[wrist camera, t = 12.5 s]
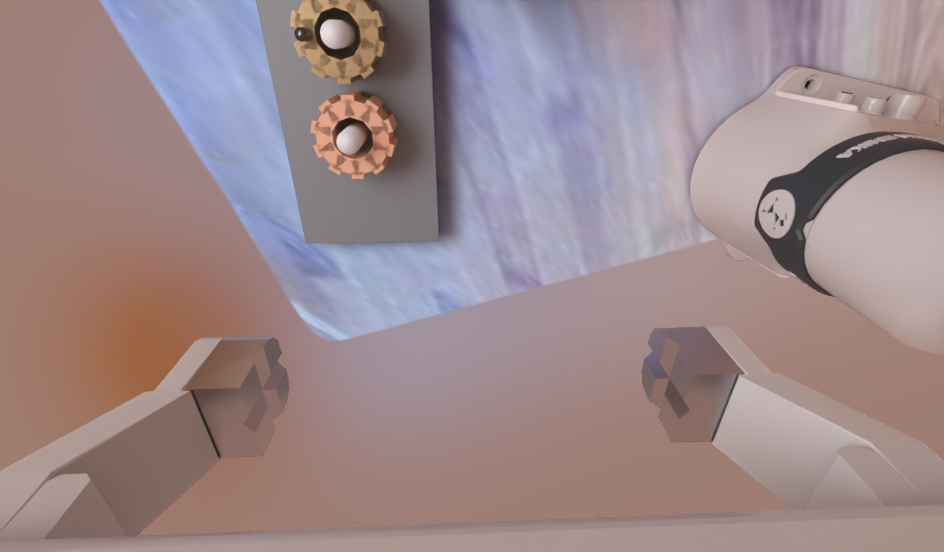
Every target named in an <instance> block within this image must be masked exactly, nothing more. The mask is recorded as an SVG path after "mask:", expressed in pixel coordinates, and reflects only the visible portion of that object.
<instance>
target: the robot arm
mask: <svg viewBox="0 0 944 552" xmlns="http://www.w3.org/2000/svg"><path fill="white" fill-rule="evenodd" d="M808 80H809V85H808V86H807V87H806V88H805V84H806V82H807V81H808ZM939 118H940V111H939V102H938V100H937V99H935V98H933V97H930V96H926V95H922V94H918V93H914V92H910V91H906V90H902V89H897V88H893V87H889V86H885V85H880V84H876V83H872V82H868V81H863V80H859V79H855V78H851V77H846V76H842V75H838V74H834V73H829V72H825V71H821V70H817V69H812V68H808V67H804V66H793V67H791V68H789V69H787V70H786V71H785V72H784V73H783V74H781V75H780V77H779V78H778V79H777V80H776V81H775V82H774V83H773V84H772V85H771V86H770V87H769V89H768V90H767V91H766V92H765V93H764V94H763V95H762V96H760V97H759V98H758V99H756V100H755V101H753V102H751V103H750V104H748V105H746V106H745V107H743V108H742V109H740V110H739V111H737V112H736V113H734V114H733V115H732V116H730V117H729V118H728V119H727V120H726V121H725V122H724V123H722V124H721V125H720V126H719V127H718V129H717V130H716V131H715V132H714V133H713V134H712V136H711V137H710V138H709V140H708V141H707V142H706V144H705V145H704V147H703V149H702V150H701V152H700V154H699V156H698V158H697V161H696V163H695V166H694V169H693V172H692V177H691V183H690V198H691V203H692V207H693V210H694V212H695V214H696V216H697V218H698V219H699V221H700V222H701V223H702V224H703V225H704V226H705V227H706V228H707V229H708V230H710V231H711V232H712V233H714V234H715V235H716V236H717V237H718V238H719V239H720V240H721V243H722V245H723V248H724V250H725V252H726V254H727V255H728V256H729V257H731V258H733V259H734V260H737V261H743V260H748V259H751V260H752V261H754V262H756V263H757V264H759V265H761V266H762V267H764V268H766V269H767V270H769V271H771V272H773V273H774V274H776V275H778V276H780V277H783V278H789V277H791V276H793V277H794V278H795V279H797V280H798V281H800V282H801V283H803V284H805V285H806V286H808V287H811V288H813V289H815V290H817V291H818V292H820V293H823V294H825V295H828V296H833V297H836V298H838V299H839V300H840V301H842V302H843V303H845V304H846V305H847V306H849V307H850V308H852V309H853V310H855V311H856V312H857V313H859V314H860V315H862V316H863V317H865V318H866V319H867V320H869V321H870V322H872V323H873V324H875V325H876V326H877V327H879V328H880V329H882V330H883V331H885V332H886V333H887V334H889V335H890V336H892V337H893V338H895V339H896V340H897V341H899V342H900V343H902V344H904V345H906V346H908V347H911V348H913V349H916V350H919V351H923V352H927V353H932V354H937V355H943V356H944V127H943V126H939ZM648 344H649V345H650V347H651V349H652V350H653V352H651V353H650V354H649V355H648V356H647V357H646V358H645V359H644V363H643V368H642V382H643V386H644V390H645V393H646V395H647V397H648V399H649V401H650V402H651V403H653V404H654V405H656V406H658V407H659V408H660V412H659V416H658V418H659V420H660V421H661V423H662V425H663V427H664V429H665V431H666V433H667V434H668V436H669V438H670V440H671V442H713V443H712V444H713V445H714V446H716V447H717V448H718V449H719V450H721V451H722V452H723V453H724V454H726V455H727V456H728V457H729V458H730V459H732V460H733V461H734V462H735V463H737V464H738V465H739V466H740V467H742V468H743V469H744V470H745V471H747V472H748V473H749V474H750V475H751V476H753V477H754V478H755V479H756V480H758V481H759V482H760V483H761V484H763V485H764V486H765V487H766V488H767V489H769V490H770V491H771V492H772V493H774V494H775V495H776V496H777V497H778V498H780V499H781V500H782V501H783V502H785V503H786V504H787V505H788V506H790V507H791V508H792V509H793V510H775V511H748V512H724V513H723V512H722V513H696V514H671V515H649V516H648V515H647V516H622V517H597V518H572V519H545V520H520V521H498V522H497V521H495V522H471V523H445V524H418V525H395V526H394V525H393V526H367V527H342V528H317V529H293V530H267V531H243V532H217V533H191V534H166V535H141V536H137V535H138V534H140V533H141V532H142V531H143V530H144V529H145V528H146V527H147V526H148V525H150V524H151V523H152V522H153V521H154V520H155V519H156V518H157V517H158V516H159V515H160V514H162V513H163V512H164V511H165V510H166V509H167V508H168V507H169V506H171V505H172V504H173V503H174V502H175V501H176V500H177V499H178V498H179V497H181V495H182V494H184V493H185V492H186V491H187V490H188V489H189V488H190V487H192V486H193V485H194V484H195V483H196V482H197V481H198V480H199V479H200V478H201V477H203V476H204V475H205V474H206V473H207V472H208V471H209V470H210V469H211V468H213V467H214V466H215V465H216V464H217V463H218V462H219V461H220V460H219V459H223V458H239V457H255V456H263V455H264V453H265V451H266V449H267V446H268V444H269V442H270V440H271V437H272V435H273V433H274V430H275V427H274V424H273V421H272V420H273V419H275V418H276V417H277V416H279V415H280V414H281V413H283V410H284V408H285V405H286V403H287V398H288V392H289V379H288V374H287V371H286V369H285V368H284V367H283V366H282V365H281V364H279V363H278V362H277V361H278V359H279V357H280V355H281V353H282V352H281V349H280V346H279V343H278V340H276V339H275V338H273V337H238V338H237V337H227V338H202V339H199V340H196V341H195V342H194V344H193V345H192V346H191V347H190V349H189V350H188V351H187V352H186V353H185V354H184V356H183V357H182V358H181V359H180V360H179V362H178V363H177V364H176V365H175V366H174V368H173V369H172V370H171V371H170V373H169V374H168V375H167V376H166V377H165V378H164V380H163V381H162V382H161V383H160V384H159V386H158V387H157V388H156V389H155V390H154V392H144V393H143V394H141V395H139V396H137V397H135V398H133V399H132V400H130V401H128V402H126V403H124V404H122V405H120V406H119V407H117V408H115V409H113V410H111V411H110V412H108V413H106V414H104V415H102V416H100V417H98V418H97V419H95V420H93V421H91V422H89V423H88V424H86V425H84V426H82V427H80V428H78V429H76V430H75V431H73V432H71V433H69V434H67V435H66V436H64V437H62V438H60V439H58V440H56V441H55V442H53V443H51V444H49V445H47V446H45V447H44V448H42V449H40V450H38V451H36V452H34V453H33V454H31V455H29V456H27V457H25V458H23V459H22V460H20V461H18V462H16V463H14V464H12V465H11V466H9V467H7V468H5V469H3V470H1V471H0V552H944V461H943V460H942V459H941V458H940V457H938V456H937V455H936V454H935V453H934V452H933V451H932V450H930V449H929V448H928V447H927V446H926V445H925V444H924V443H922V442H920V441H918V440H916V439H914V438H912V437H909V436H908V435H905V434H903V433H901V432H899V431H897V430H895V429H893V428H891V427H889V426H887V425H885V424H883V423H880V422H878V421H877V420H875V419H872V418H870V417H868V416H866V415H864V414H862V413H860V412H858V411H856V410H853V409H852V408H849V407H847V406H845V405H844V404H841V403H839V402H837V401H835V400H833V399H831V398H829V397H827V396H825V395H823V394H821V393H819V392H817V391H815V390H813V389H811V388H808V387H806V386H804V385H802V384H800V383H798V382H796V381H794V380H792V379H790V378H788V377H786V376H784V375H782V374H772V373H771V372H770V371H769V370H768V369H767V367H766V366H765V365H764V364H763V363H762V362H761V361H760V360H759V359H758V358H757V357H756V356H755V355H754V354H753V353H752V352H751V350H750V349H749V348H748V347H747V346H746V345H745V344H744V343H743V342H742V341H741V340H740V339H739V338H738V336H736V335H735V333H734V332H733V331H732V330H731V329H730V328H728V327H726V326H724V325H711V326H700V327H681V328H654V330H653V331H652V333H651V335H650V338H649V342H648Z"/></svg>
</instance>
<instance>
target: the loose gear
mask: <svg viewBox="0 0 944 552" xmlns="http://www.w3.org/2000/svg"><path fill="white" fill-rule="evenodd" d="M340 96H341V99H340V98H339V97H338V96H337V95H335V96H333V97H332V98H330V99H328V100H327V101H326V102H325V103H323V104H322V105H321V106H320V107H319V109H320V111H321V112H322V114H320V115H319V116H317V117H316V118H314V119H313V120H312V124H311V131H310V132H311V133H314V134H316V140H317V143H316V144H315V145H314V146H313V148H314V150H315V152H316V154H317V156H318V158H320V157H324V158H325V159H326V160H327V161H328V162H329V163H330V166H329V168H328V169H330V170H331V171H333V172H335V173H336V174H338V175H340V173H341V172H346V173H349V174H351V175H352V179H364V178H365V176H366V175H367V173H368V172H371V171H373V172H374V173H375V174H378V173H379V172H380V171H381V170H383V169H384V168H385V166H386V164H387V162H388V160H389V157H388V156H390V157H392V155H393V153H394V151H395V149H396V145H397V141H398V137H395V136H394V135H393V131H394V129H395V127H396V126H397V123H396V120H395V118H394V115H393V113H391V114H387V112H386V111H385V110H384V109H383V107H382V105H383V103H384V102H383V101H382V100H381V99H379V98H378V97H376V96H375V95H372V96H371V97H370V98H367V97H364V96H361V90H348V91H346V92H345V93H343V94H341V95H340ZM349 117H351V118H354V119H358V120H361V121H363V122H364V123H365V124H366V125H367V127H368V128H369V129H370V130H371V132H372V137H373V147H372V148H369V149H366V150H363V151H360V150H358V151H357V152H356V153H355V154H351V155H348V154H345V153H343V152H341V151H340V150H339V148H338V146H337V142H336V141H337V137H338V135H339V134H340V133H341V128H340V125H341V123H342V121H343V119H346V118H349Z"/></svg>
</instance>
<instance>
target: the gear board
mask: <svg viewBox="0 0 944 552" xmlns="http://www.w3.org/2000/svg"><path fill="white" fill-rule="evenodd" d="M302 1H303V0H256V3H257V8H258V13H259V18H260V23H261V27H262V32H263V37H264V42H265V47H266V52H267V57H268V61H269V66H270V71H271V76H272V81H273V86H274V91H275V95H276V100H277V105H278V110H279V115H280V120H281V125H282V129H283V134H284V139H285V144H286V149H287V154H288V159H289V164H290V168H291V173H292V178H293V183H294V188H295V193H296V198H297V202H298V207H299V212H300V217H301V222H302V227H303V232H304V236H305V241H306V244H312V243H368V242H424V241H439V212H438V188H437V164H436V140H435V116H434V92H433V68H432V43H431V19H430V0H372V1H371V4H372V6H373V7H374V9H375V10H379V11H383V13H384V16H385V18H386V21H387V24H388V26H386V27H384V28H383V30H384V40H386V41H389V46H388V51H387V55H386V56H383V57H379V59H378V61H377V62H376V63H377V64H378V66H379V67H380V68H378V69H377V70H376V71H375V72H374V73H373V74H372V75H370V76H368V77H367V78H365V79H364V78H363V77H362V76H361V74H359V75H358V80H357V81H355V82H353V83H352V84H338V83H337V78H335V77H332V76H330V77H327V78H325V79H322V78H321V77H319V76H318V75H316V74H315V73H313V72H312V71H311V69H312V67H313V65H312V64H311V62H310V61H309V60H308V59H307V58H306V56H305V57H299V55H298V53H297V50H296V48H295V46H294V44H293V43H294V42H296V41H298V40H297V39H296V37H295V34H294V32H295V29H296V28H295V27H292V26H290V20H291V11H292V10H296V11H298V10H299V8H300V6H301V4H302ZM320 35H321V39H322V41H323V42H324V44H325V45H327V46H328V47H330V48H332V49H333V50H334V51H335V52H336V53H337V54H340V55H342V56H345V57H351V56H353V55H354V54H355V52H356V51H357V49H358V47H359V45H360V43H361V38H360V29H359V25H358V24H357V22H356V21H355V20H354V18H353V17H352V16H351V14H350V13H349V12H347V11H344V10H338V11H336V12H333V13H331V14H330V16H329V18H328V20H327V21H325V22H324V23H323V24H322V26H321V29H320ZM348 90H361V96H364V97H367V98H370V97H371V96H372V95H375V96H376V97H378V98H379V99H381V100H382V101H383V102H384V103H383V105H382V107H383V109H384V110H385V111H386V112H387V114H391V113H393V115H394V118H395V120H396V123H397V126H396V127H395V129H394V131H393V135H394V136H395V137H398V141H397V145H396V149H395V151H394V153H393V155H392V157H390V156H388V157H389V160H388V162H387V164H386V166H385V168H384V169H383V170H381V171H380V172H379V173H378V174H375V173H374V172H373V171H371V172H368V173H367V175H366V176H365V178H364V179H352V175H351V174H349V173H346V172H341V173H340V175H338V174H336V173H335V172H333V171H331V170H330V169H328V168H329V166H330V163H329V162H328V161H327V160H326V159H325V158H324V157H320V158H318V156H317V154H316V152H315V150H314V148H313V146H314V145H315V144H316V143H317V140H316V134H314V133H311V132H310V131H311V124H312V120H313V119H314V118H316V117H317V116H319V115H320V114H322V112H321V111H320V109H319V107H320V106H321V105H322V104H323V103H325V102H326V101H327V100H328V99H330V98H332V97H333V96H335V95H337V96H338V97H339V98H340V99H341V96H340V95H341V94H343V93H345V92H346V91H348ZM340 128H341V133H340V134H339V135H338V137H337V141H336V142H337V146H338V148H339V150H340V151H341V152H343V153H345V154H348V155H351V154H355V153H356V152H357V151H358V150H360V151H363V150H366V149H369V148H372V147H373V137H372V132H371V130H370V129H369V128H368V127H367V125H366V124H365V123H364V122H363V121H361V120H358V119H354V118H351V117H349V118H346V119H343V121H342V123H341V125H340Z"/></svg>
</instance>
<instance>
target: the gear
mask: <svg viewBox="0 0 944 552" xmlns="http://www.w3.org/2000/svg"><path fill="white" fill-rule="evenodd" d="M371 1H372V0H303V1H302V4H301V6H300V8H299V10H298V11H296V10H292V11H291V20H290V26H292V27H295V28H296V29H295V32H294V34H295V37H296V39H297V40H298V41H296V42H294V43H293V44H294V46H295V48H296V50H297V53H298V55H299V57H305V56H306V58H307V59H308V60H309V61H310V62H311V64H312V65H313V67H312V69H311V71H312V72H313V73H315V74H316V75H318V76H319V77H321V78H322V79H325V78H327V77H330V76H332V77H335V78H337V83H338V84H352V83H353V82H355V81H357V80H358V75H359V74H361V76H362V77H363V78H364V79H365V78H367V77H368V76H370V75H372V74H373V73H374V72H375V71H376V70H377V69H378V68H380V67H379V66H378V64H377V63H376V62H377V61H378V59H379V57H383V56H386V55H387V51H388V46H389V41H386V40H384V30H383V28H384V27H386V26H388V24H387V21H386V18H385V16H384V13H383V11H379V10H375V9H374V7H373V6H372V4H371ZM338 10H344V11H347V12H349V13H350V14H351V16H352V17H353V18H354V20H355V21H356V22H357V24H358V25H359V29H360V38H361V43H360V45H359V47H358V49H357V51H356V52H355V54H354V55H353V56H351V57H345V56H342V55H340V54H337V53H336V52H335V51H334V50H333V49H332V48H330V47H328V46H327V45H325V44H324V42H323V41H322V39H321V35H320V29H321V26H322V24H323V23H324V22H325V21H327V20H328V18H329V16H330V14H331V13H333V12H336V11H338Z"/></svg>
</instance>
